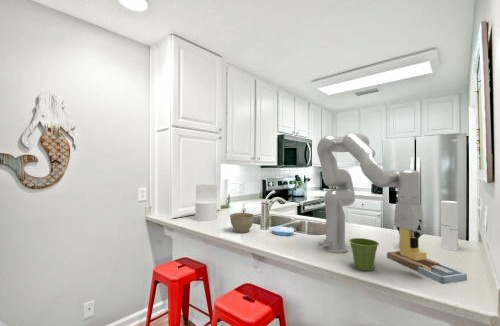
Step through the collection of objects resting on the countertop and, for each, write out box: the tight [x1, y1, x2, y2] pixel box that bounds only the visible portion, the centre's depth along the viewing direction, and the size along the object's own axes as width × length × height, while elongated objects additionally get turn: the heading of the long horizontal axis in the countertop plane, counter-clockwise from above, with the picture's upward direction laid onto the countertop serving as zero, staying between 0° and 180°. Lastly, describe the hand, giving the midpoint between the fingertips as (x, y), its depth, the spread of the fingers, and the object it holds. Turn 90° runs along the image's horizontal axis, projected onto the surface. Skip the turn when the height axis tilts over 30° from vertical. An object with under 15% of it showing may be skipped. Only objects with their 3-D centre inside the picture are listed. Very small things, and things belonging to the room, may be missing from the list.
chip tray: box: [417, 263, 468, 285], centre depth 99 cm, size 12×10×3 cm
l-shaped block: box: [399, 228, 427, 260], centre depth 100 cm, size 5×7×11 cm
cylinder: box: [194, 183, 218, 222], centre depth 206 cm, size 17×17×28 cm
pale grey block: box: [431, 265, 445, 275], centre depth 100 cm, size 3×3×3 cm
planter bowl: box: [229, 212, 255, 234], centre depth 168 cm, size 16×16×11 cm
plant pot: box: [348, 237, 380, 272], centre depth 109 cm, size 12×12×11 cm
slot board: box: [386, 250, 440, 273], centre depth 112 cm, size 11×16×4 cm, turn 15°
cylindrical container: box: [440, 200, 459, 252], centre depth 135 cm, size 7×7×25 cm
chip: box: [438, 269, 453, 276], centre depth 97 cm, size 3×3×3 cm
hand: (409, 245), depth 102 cm, fingers closed on l-shaped block, 4 cm apart
